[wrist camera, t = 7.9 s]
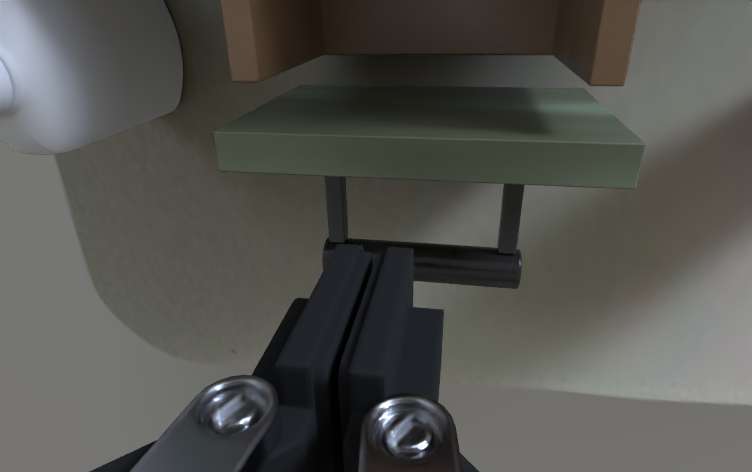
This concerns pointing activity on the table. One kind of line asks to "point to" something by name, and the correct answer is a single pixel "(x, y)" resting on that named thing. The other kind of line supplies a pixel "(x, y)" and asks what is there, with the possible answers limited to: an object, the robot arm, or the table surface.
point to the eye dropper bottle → (84, 70)
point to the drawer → (434, 109)
